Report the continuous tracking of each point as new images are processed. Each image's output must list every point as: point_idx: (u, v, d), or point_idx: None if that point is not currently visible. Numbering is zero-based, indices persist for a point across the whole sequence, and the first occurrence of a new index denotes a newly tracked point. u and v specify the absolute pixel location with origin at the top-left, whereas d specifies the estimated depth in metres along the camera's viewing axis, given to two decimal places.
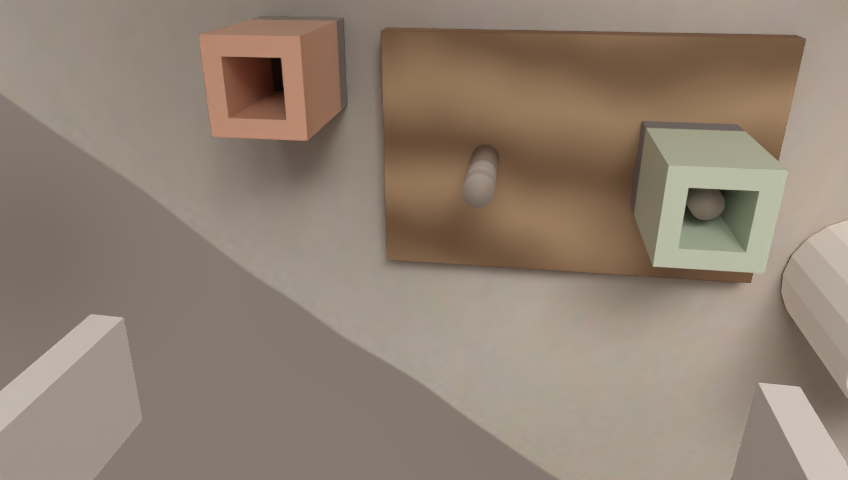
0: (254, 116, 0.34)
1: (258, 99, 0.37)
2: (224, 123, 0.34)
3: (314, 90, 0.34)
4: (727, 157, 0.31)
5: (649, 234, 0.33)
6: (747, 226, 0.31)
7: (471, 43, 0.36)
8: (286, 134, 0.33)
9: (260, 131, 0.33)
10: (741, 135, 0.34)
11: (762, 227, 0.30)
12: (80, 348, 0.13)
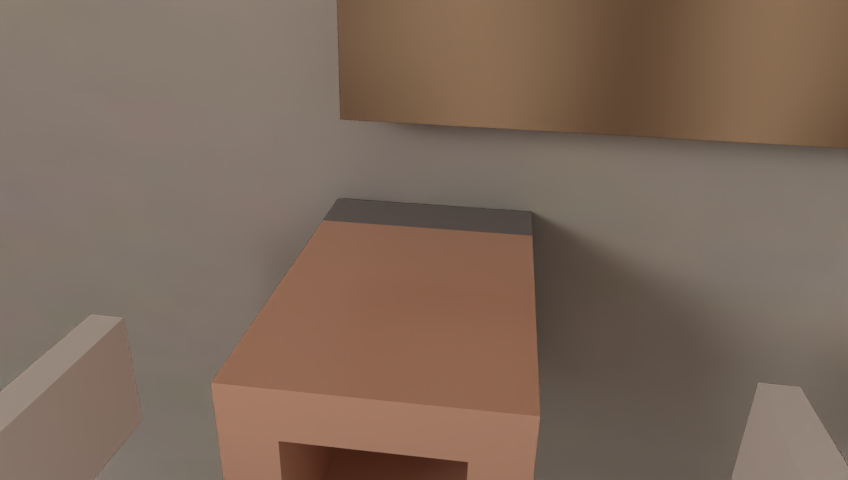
0: None
1: None
2: None
3: (413, 337, 0.12)
4: None
5: None
6: None
7: None
8: (515, 470, 0.10)
9: None
10: None
11: None
12: (80, 349, 0.13)
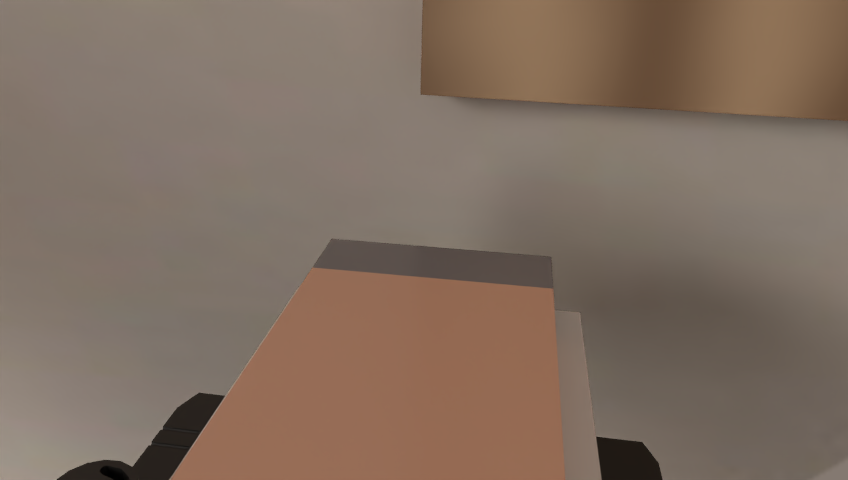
0: None
1: None
2: None
3: (411, 432, 0.09)
4: None
5: None
6: None
7: None
8: None
9: None
10: None
11: None
12: None
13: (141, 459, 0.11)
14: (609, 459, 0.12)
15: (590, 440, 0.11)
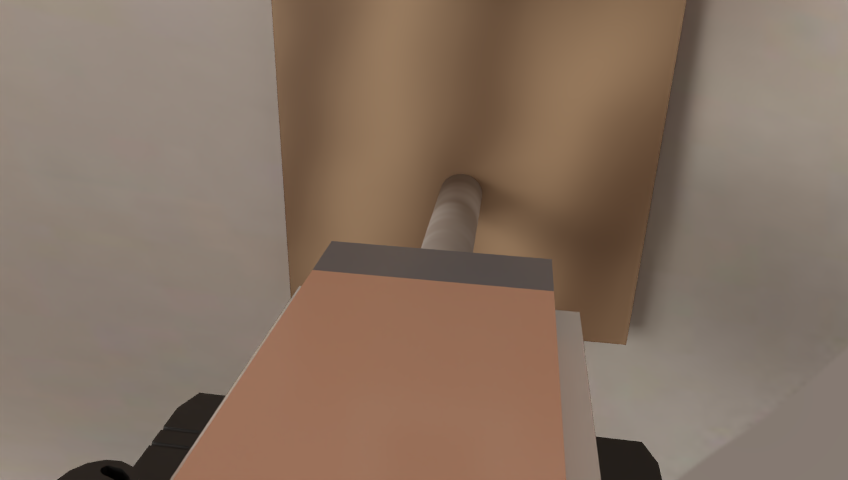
0: None
1: None
2: None
3: (411, 437, 0.09)
4: None
5: None
6: None
7: (298, 205, 0.27)
8: None
9: None
10: None
11: None
12: None
13: (142, 459, 0.11)
14: (608, 460, 0.12)
15: (589, 440, 0.11)
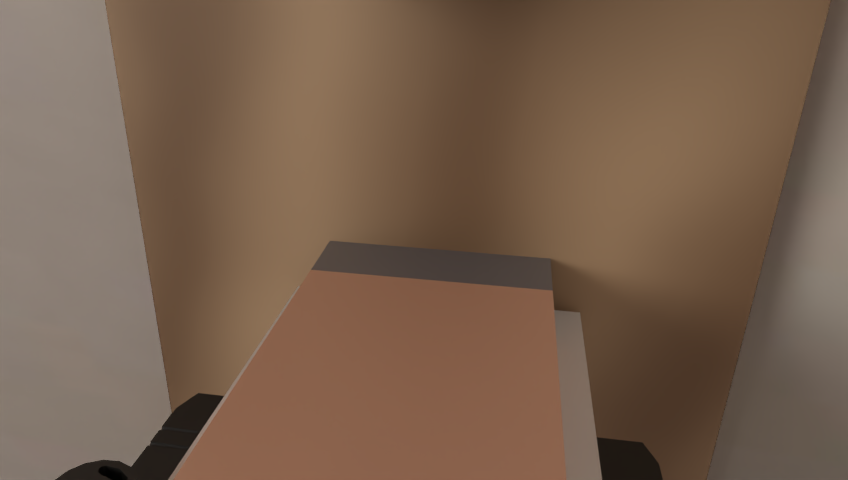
0: None
1: None
2: None
3: (411, 436, 0.09)
4: None
5: None
6: None
7: (181, 349, 0.17)
8: None
9: None
10: None
11: None
12: None
13: (140, 458, 0.11)
14: (609, 460, 0.12)
15: (591, 440, 0.11)
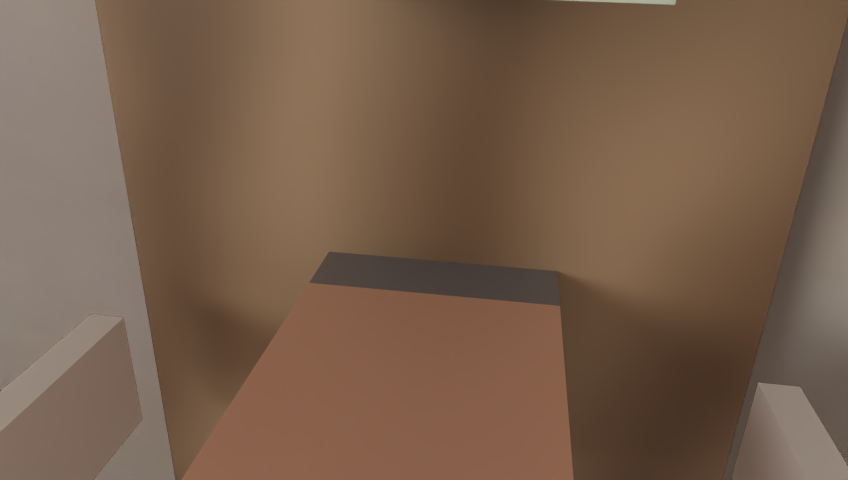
0: None
1: None
2: None
3: (411, 466, 0.09)
4: None
5: None
6: None
7: (176, 362, 0.17)
8: None
9: None
10: None
11: None
12: (81, 349, 0.13)
13: None
14: None
15: None
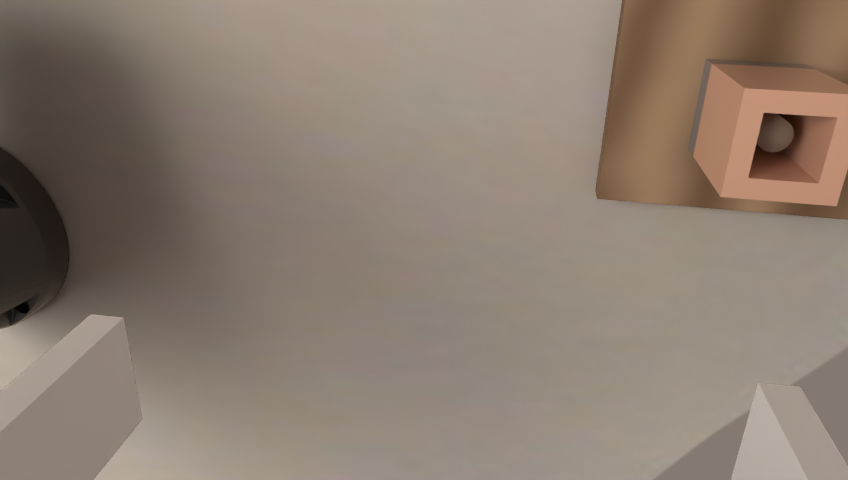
0: (821, 155, 0.30)
1: (788, 156, 0.34)
2: (824, 189, 0.30)
3: (802, 84, 0.30)
4: None
5: None
6: None
7: (618, 116, 0.38)
8: None
9: (843, 150, 0.29)
10: None
11: None
12: (80, 349, 0.13)
13: None
14: None
15: None
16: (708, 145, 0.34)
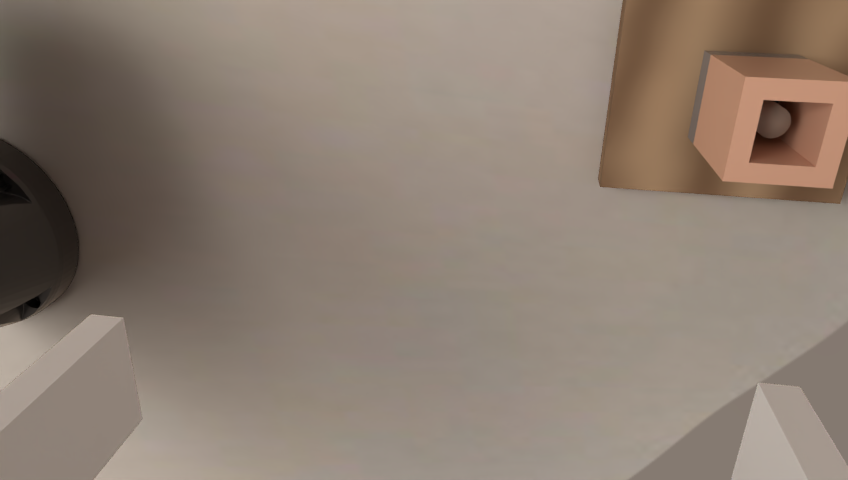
0: (818, 140, 0.31)
1: (785, 143, 0.35)
2: (820, 172, 0.32)
3: (798, 72, 0.32)
4: None
5: None
6: None
7: (621, 107, 0.40)
8: None
9: (839, 134, 0.31)
10: None
11: None
12: (80, 349, 0.13)
13: None
14: None
15: None
16: (709, 132, 0.35)
